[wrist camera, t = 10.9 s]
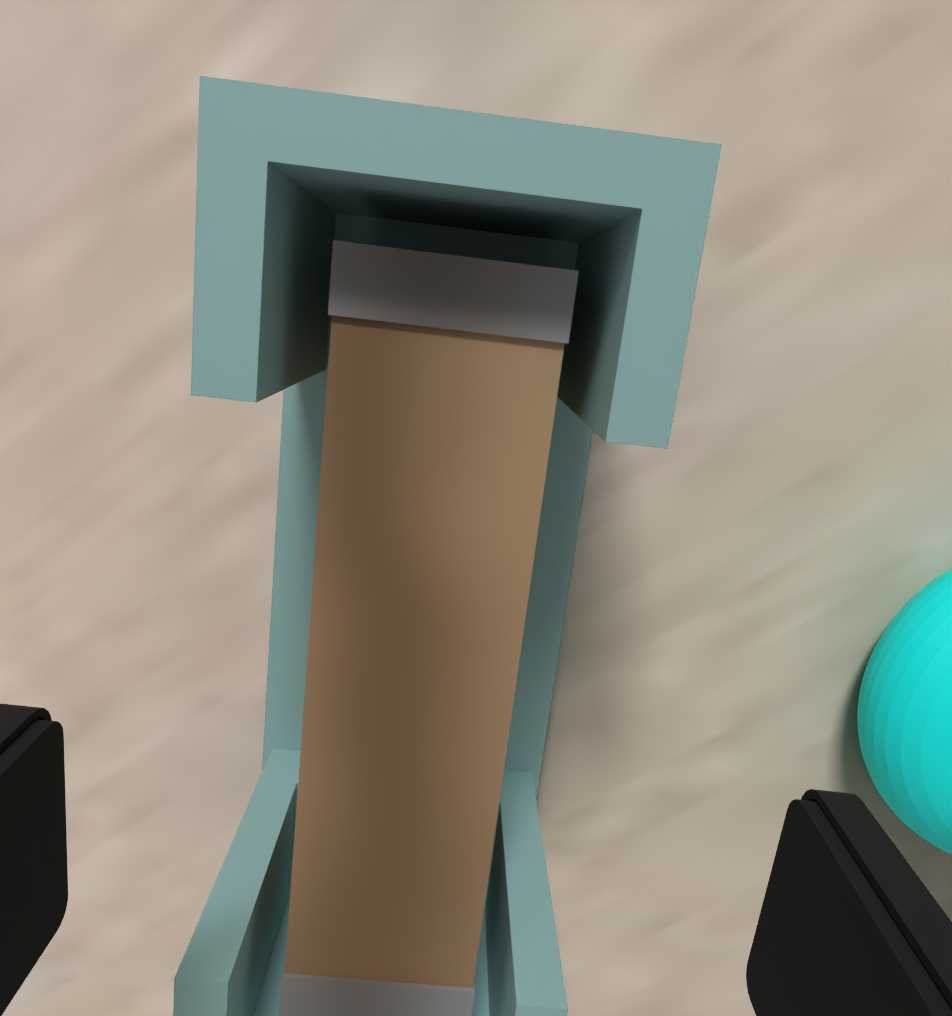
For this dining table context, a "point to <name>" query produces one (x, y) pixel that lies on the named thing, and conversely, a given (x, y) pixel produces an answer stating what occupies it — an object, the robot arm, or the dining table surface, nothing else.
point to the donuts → (913, 714)
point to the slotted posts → (303, 376)
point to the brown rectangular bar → (416, 619)
